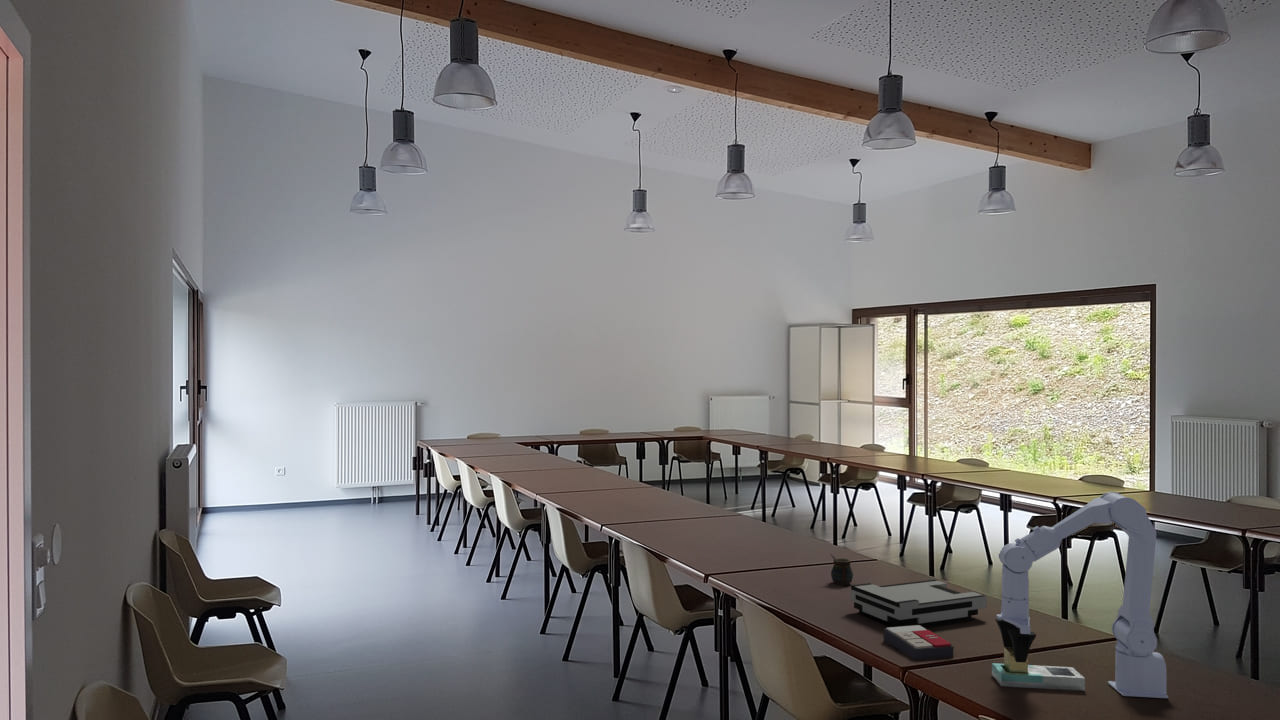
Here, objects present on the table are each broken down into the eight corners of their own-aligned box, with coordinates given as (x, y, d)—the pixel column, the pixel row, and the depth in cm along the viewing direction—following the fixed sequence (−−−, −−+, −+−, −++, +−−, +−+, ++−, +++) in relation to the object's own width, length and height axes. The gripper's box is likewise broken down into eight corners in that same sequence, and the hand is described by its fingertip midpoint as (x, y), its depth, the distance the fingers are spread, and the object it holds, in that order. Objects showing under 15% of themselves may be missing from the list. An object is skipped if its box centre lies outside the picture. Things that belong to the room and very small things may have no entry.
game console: (986, 620, 242) (986, 592, 242) (899, 633, 229) (899, 603, 229) (934, 602, 261) (934, 575, 261) (850, 613, 248) (851, 585, 248)
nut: (1021, 673, 195) (1022, 647, 195) (1027, 680, 191) (1027, 653, 191) (1003, 672, 195) (1004, 646, 195) (1009, 679, 191) (1009, 652, 191)
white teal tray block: (1072, 679, 195) (1072, 667, 195) (1084, 690, 188) (1084, 678, 188) (991, 675, 197) (992, 663, 197) (1001, 686, 190) (1001, 673, 190)
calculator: (915, 646, 207) (883, 625, 221) (915, 663, 207) (882, 641, 222) (954, 643, 210) (920, 622, 224) (953, 660, 210) (919, 638, 224)
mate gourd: (855, 586, 277) (855, 556, 277) (832, 586, 277) (832, 556, 277) (850, 581, 284) (850, 551, 284) (828, 580, 285) (828, 551, 285)
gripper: (987, 588, 201) (987, 645, 201) (1007, 604, 187) (1007, 666, 186) (1018, 589, 200) (1018, 646, 200) (1040, 606, 186) (1040, 667, 186)
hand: (1015, 656), depth 193 cm, fingers open, 7 cm apart
